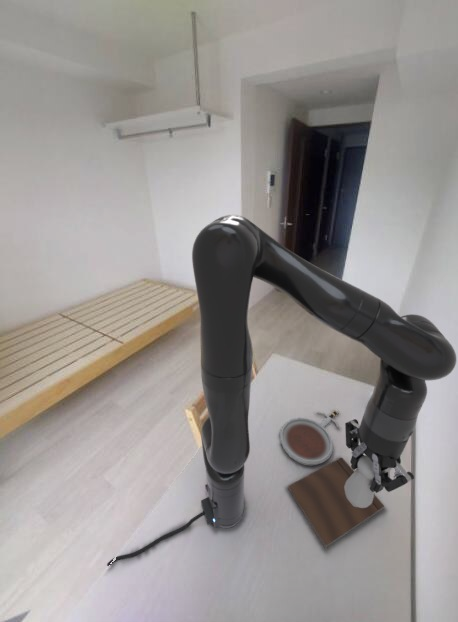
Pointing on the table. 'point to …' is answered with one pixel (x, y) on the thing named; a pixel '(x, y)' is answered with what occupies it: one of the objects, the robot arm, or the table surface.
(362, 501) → the salt shaker
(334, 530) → the serving board
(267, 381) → the table surface
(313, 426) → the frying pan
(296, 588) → the table surface
